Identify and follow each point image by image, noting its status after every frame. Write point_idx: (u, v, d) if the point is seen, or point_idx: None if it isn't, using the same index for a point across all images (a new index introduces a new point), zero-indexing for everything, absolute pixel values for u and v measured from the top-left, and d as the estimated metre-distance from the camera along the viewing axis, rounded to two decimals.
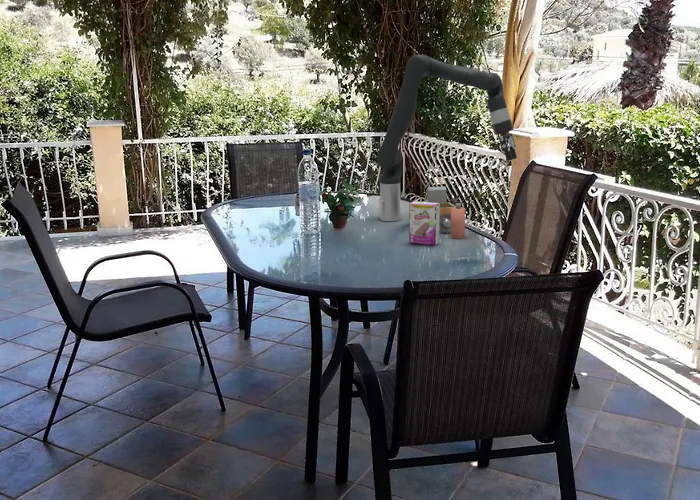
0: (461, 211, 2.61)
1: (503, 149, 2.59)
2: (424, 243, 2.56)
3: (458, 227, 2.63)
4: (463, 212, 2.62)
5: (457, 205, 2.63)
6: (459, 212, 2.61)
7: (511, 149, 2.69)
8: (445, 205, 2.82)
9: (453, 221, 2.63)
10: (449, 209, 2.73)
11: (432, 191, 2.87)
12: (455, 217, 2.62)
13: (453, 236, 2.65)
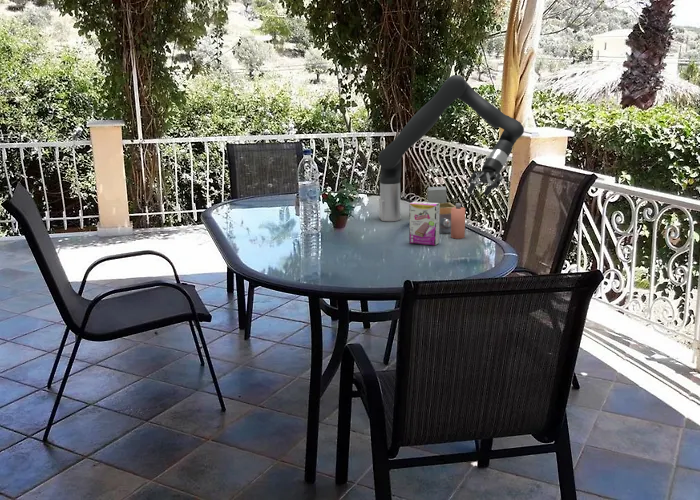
0: (461, 211, 2.61)
1: (495, 184, 2.65)
2: (424, 243, 2.56)
3: (458, 227, 2.63)
4: (463, 212, 2.62)
5: (457, 205, 2.63)
6: (459, 212, 2.61)
7: (474, 184, 2.74)
8: (445, 205, 2.82)
9: (453, 221, 2.63)
10: (449, 209, 2.73)
11: (432, 191, 2.87)
12: (455, 217, 2.62)
13: (453, 236, 2.65)
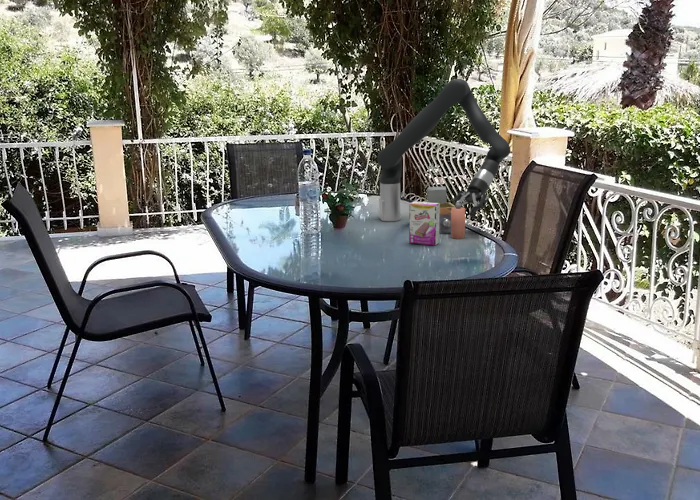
0: (461, 211, 2.61)
1: (481, 205, 2.62)
2: (424, 243, 2.56)
3: (458, 227, 2.63)
4: (463, 212, 2.62)
5: (457, 205, 2.63)
6: (459, 212, 2.61)
7: None
8: (445, 205, 2.82)
9: (453, 221, 2.63)
10: (449, 209, 2.73)
11: (432, 191, 2.87)
12: (455, 217, 2.62)
13: (453, 236, 2.65)
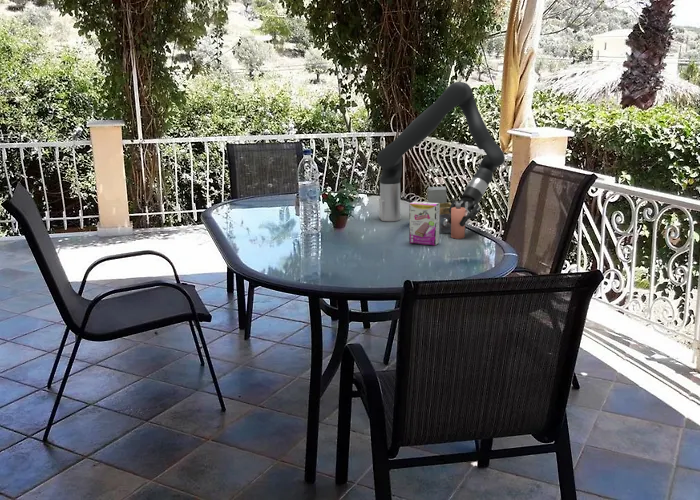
0: (461, 211, 2.61)
1: (471, 215, 2.61)
2: (424, 243, 2.56)
3: (458, 227, 2.63)
4: (463, 212, 2.62)
5: (457, 205, 2.63)
6: (459, 212, 2.61)
7: None
8: (445, 205, 2.82)
9: (453, 221, 2.63)
10: None
11: (432, 191, 2.87)
12: (455, 217, 2.62)
13: (453, 236, 2.65)
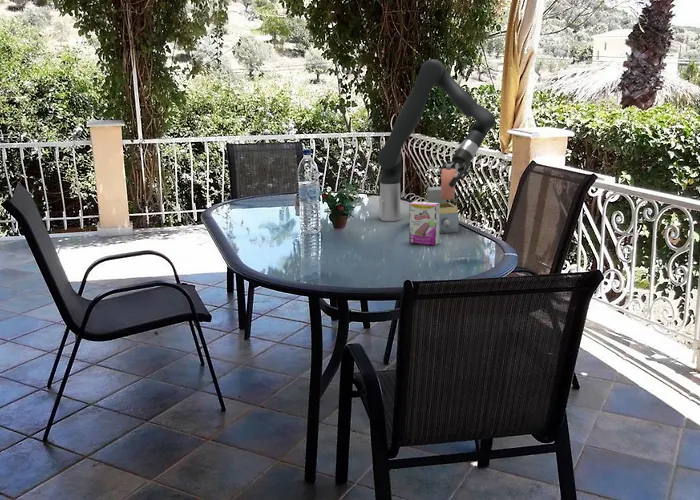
0: (451, 172, 2.64)
1: (461, 176, 2.64)
2: (424, 243, 2.56)
3: (448, 188, 2.66)
4: (453, 173, 2.65)
5: (447, 166, 2.65)
6: (449, 172, 2.64)
7: None
8: (445, 205, 2.82)
9: (443, 182, 2.66)
10: (449, 209, 2.73)
11: (432, 191, 2.87)
12: (445, 178, 2.65)
13: (443, 197, 2.68)
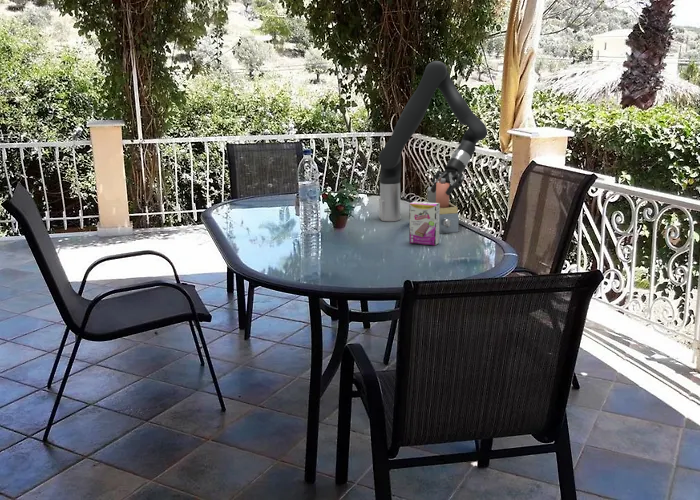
0: (445, 186, 2.72)
1: (457, 184, 2.70)
2: (424, 243, 2.56)
3: (442, 201, 2.74)
4: (447, 187, 2.73)
5: (442, 180, 2.73)
6: (444, 186, 2.72)
7: None
8: None
9: (438, 195, 2.74)
10: (449, 209, 2.73)
11: None
12: (439, 192, 2.73)
13: None
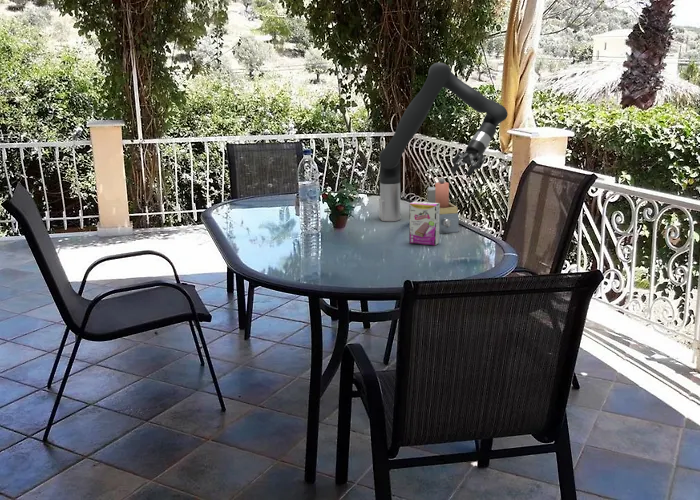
0: (444, 186, 2.72)
1: (478, 165, 2.74)
2: (424, 243, 2.56)
3: (442, 201, 2.74)
4: (446, 187, 2.73)
5: (441, 180, 2.73)
6: (443, 186, 2.72)
7: (457, 165, 2.82)
8: None
9: (437, 196, 2.74)
10: (449, 209, 2.73)
11: (432, 191, 2.87)
12: (438, 192, 2.73)
13: None
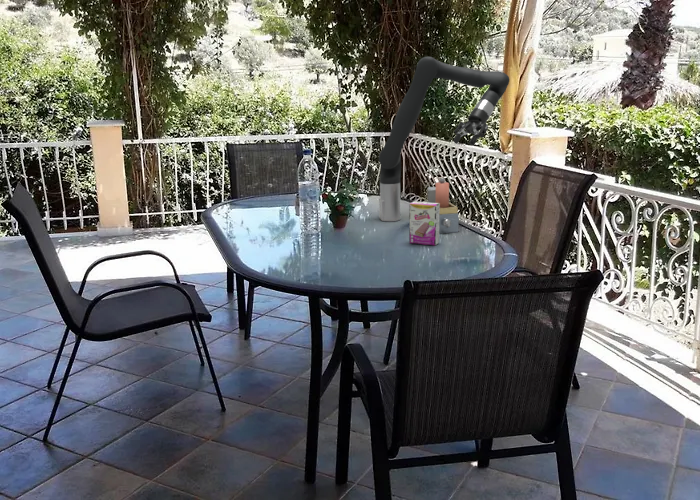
0: (444, 185, 2.72)
1: (481, 134, 2.66)
2: (424, 243, 2.56)
3: (442, 201, 2.74)
4: (447, 186, 2.73)
5: (441, 180, 2.74)
6: (443, 186, 2.72)
7: (459, 134, 2.74)
8: None
9: (437, 195, 2.74)
10: (449, 209, 2.73)
11: (432, 191, 2.87)
12: (438, 191, 2.73)
13: None
